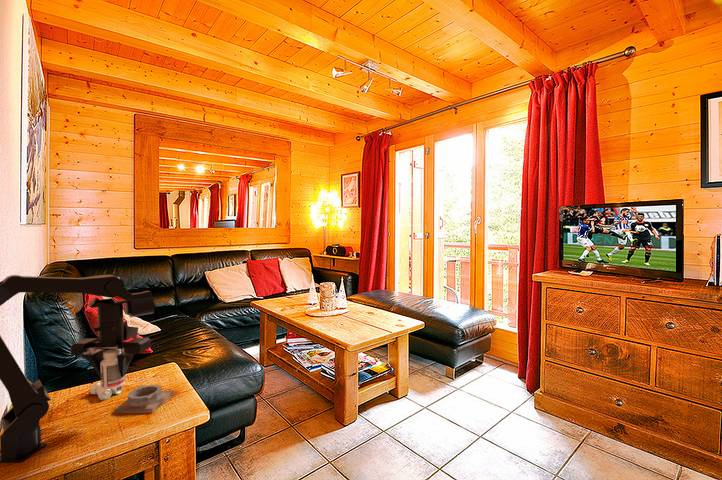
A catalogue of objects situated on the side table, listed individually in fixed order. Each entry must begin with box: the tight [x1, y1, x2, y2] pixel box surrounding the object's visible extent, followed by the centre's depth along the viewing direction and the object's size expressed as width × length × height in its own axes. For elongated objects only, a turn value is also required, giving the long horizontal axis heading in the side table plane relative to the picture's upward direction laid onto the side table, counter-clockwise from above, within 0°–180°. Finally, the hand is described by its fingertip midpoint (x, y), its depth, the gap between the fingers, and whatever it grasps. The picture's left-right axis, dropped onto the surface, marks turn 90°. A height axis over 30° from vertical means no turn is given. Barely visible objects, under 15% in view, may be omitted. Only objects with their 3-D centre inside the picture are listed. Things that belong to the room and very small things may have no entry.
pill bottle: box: [100, 349, 126, 390], centre depth 95 cm, size 5×5×10 cm
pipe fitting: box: [90, 382, 124, 401], centre depth 109 cm, size 8×4×7 cm
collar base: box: [113, 384, 174, 414], centre depth 104 cm, size 11×11×4 cm
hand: (113, 376), depth 95 cm, fingers closed on pill bottle, 5 cm apart
